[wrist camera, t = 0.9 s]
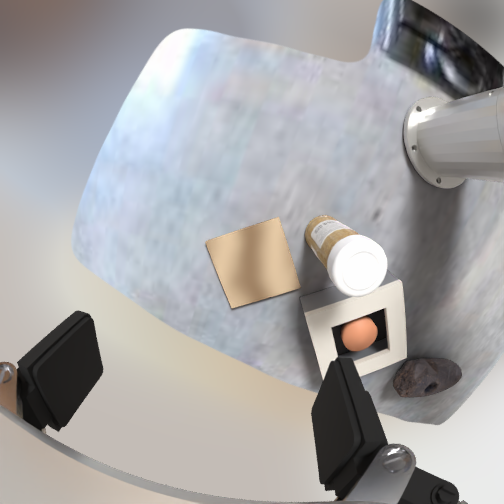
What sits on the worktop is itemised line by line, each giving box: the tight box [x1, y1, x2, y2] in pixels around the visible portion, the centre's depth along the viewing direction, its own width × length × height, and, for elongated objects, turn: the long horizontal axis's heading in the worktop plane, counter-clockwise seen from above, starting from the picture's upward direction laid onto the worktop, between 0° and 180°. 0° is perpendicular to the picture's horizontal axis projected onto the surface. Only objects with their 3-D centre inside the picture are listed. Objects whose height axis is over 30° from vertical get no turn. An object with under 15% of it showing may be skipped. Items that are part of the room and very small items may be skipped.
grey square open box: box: [300, 270, 407, 380], centre depth 32 cm, size 12×12×5 cm
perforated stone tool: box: [393, 358, 462, 397], centre depth 34 cm, size 15×5×7 cm, turn 81°
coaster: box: [205, 217, 301, 308], centre depth 33 cm, size 9×9×1 cm
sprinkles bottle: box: [305, 215, 387, 297], centre depth 25 cm, size 5×5×13 cm
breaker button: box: [340, 315, 377, 351], centre depth 32 cm, size 5×5×2 cm
